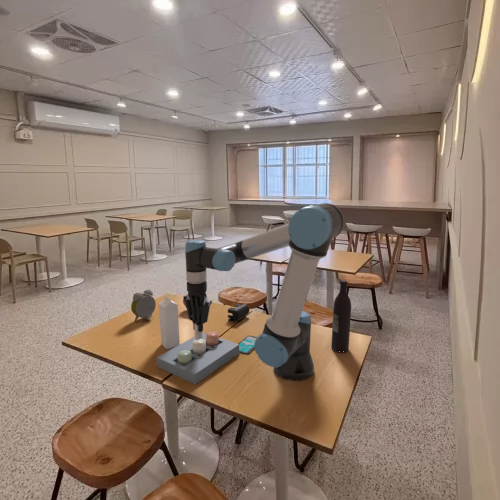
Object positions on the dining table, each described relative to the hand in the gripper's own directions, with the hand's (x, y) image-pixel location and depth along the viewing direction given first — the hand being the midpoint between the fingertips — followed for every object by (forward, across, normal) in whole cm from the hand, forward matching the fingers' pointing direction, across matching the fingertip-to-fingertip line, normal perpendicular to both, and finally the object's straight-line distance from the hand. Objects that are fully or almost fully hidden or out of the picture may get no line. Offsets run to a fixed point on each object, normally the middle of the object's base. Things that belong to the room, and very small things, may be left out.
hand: (198, 338), depth 132 cm
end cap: (+10, +11, -41) cm, 44 cm away
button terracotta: (+6, 0, -8) cm, 10 cm away
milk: (+10, +19, -2) cm, 21 cm away
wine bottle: (+9, -43, -40) cm, 60 cm away
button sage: (+7, 0, +8) cm, 11 cm away
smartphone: (+10, -9, -21) cm, 25 cm away
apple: (+10, +39, -36) cm, 54 cm away
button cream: (+6, 0, 0) cm, 6 cm away
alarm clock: (+10, +50, -14) cm, 53 cm away
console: (+9, 0, 0) cm, 9 cm away
